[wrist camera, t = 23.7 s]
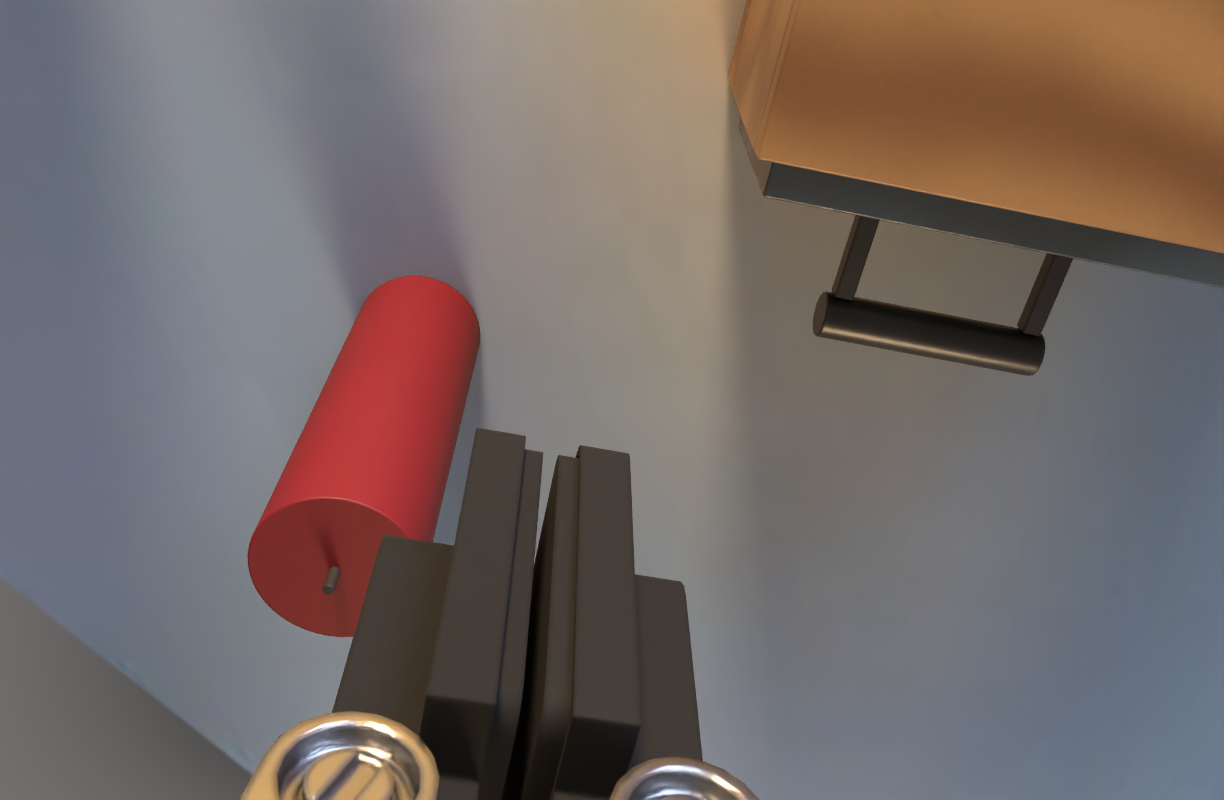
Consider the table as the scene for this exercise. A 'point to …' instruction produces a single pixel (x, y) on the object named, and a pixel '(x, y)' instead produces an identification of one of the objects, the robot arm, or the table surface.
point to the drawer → (1057, 238)
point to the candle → (368, 454)
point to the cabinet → (1001, 104)
